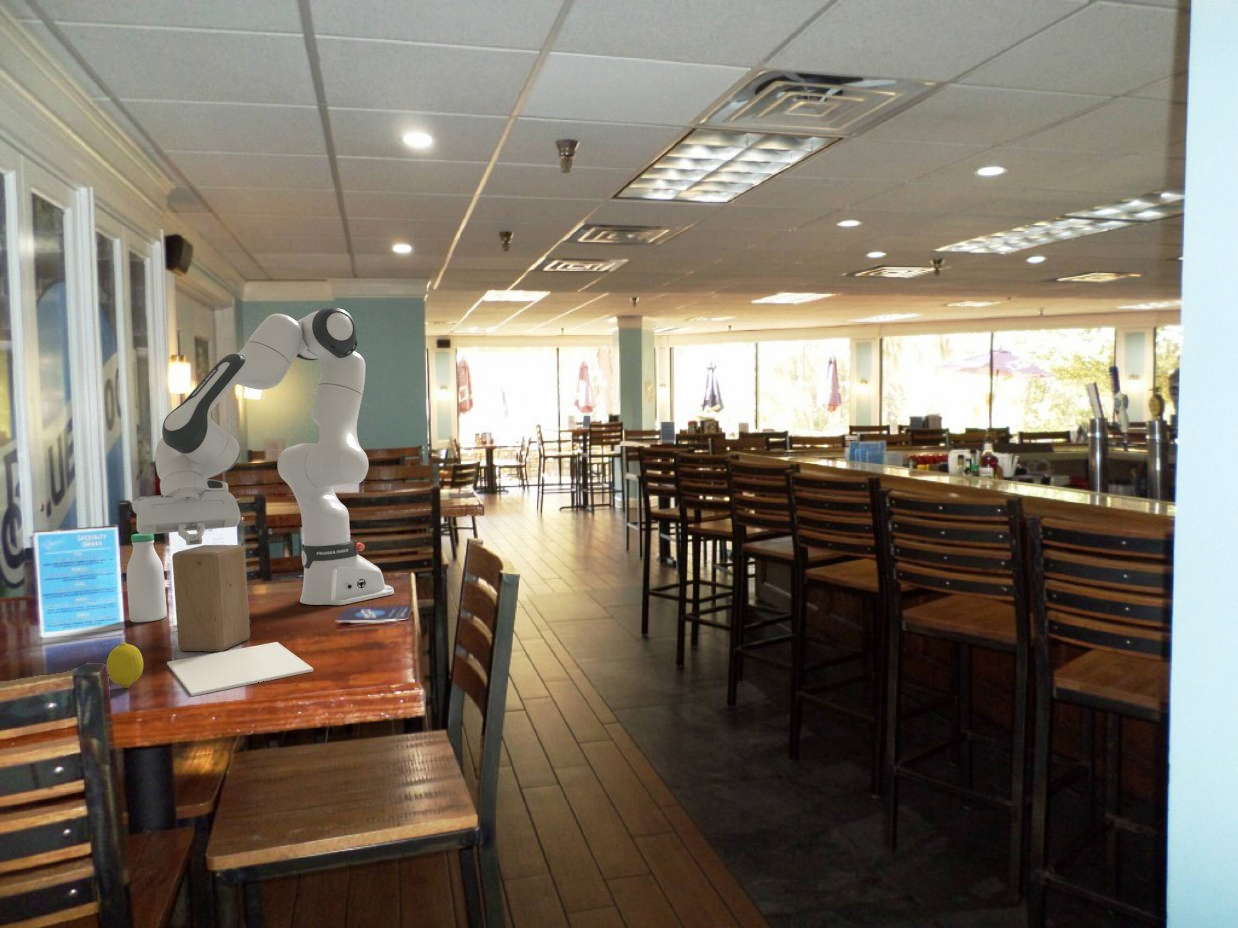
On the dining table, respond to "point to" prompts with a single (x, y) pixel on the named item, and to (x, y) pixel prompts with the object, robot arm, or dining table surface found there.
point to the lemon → (125, 665)
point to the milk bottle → (145, 581)
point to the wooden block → (211, 597)
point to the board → (237, 668)
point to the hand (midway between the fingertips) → (194, 543)
